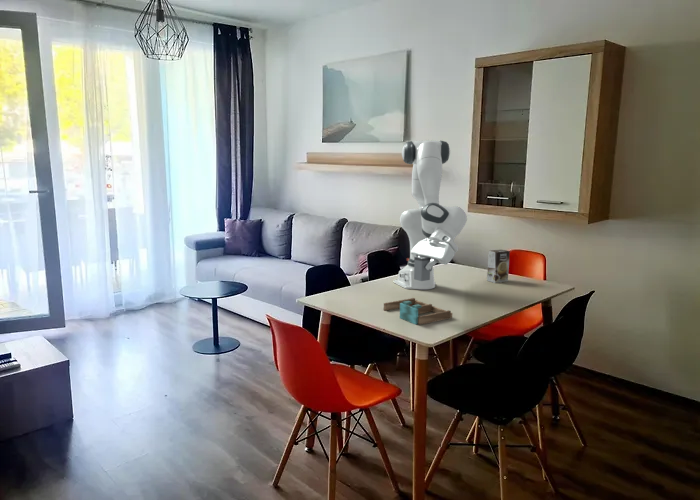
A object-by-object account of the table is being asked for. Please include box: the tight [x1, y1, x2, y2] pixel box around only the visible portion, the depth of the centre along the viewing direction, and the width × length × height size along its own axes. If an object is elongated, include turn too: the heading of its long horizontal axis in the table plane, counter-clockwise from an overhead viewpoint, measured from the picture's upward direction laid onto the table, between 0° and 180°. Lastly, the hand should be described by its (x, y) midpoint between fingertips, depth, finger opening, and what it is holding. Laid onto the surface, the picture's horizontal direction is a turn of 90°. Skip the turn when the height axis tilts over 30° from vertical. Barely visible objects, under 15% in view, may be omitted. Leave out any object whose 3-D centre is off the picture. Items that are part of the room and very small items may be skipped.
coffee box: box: [486, 249, 511, 284], centre depth 269 cm, size 9×6×16 cm
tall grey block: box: [414, 256, 430, 281], centre depth 206 cm, size 4×4×9 cm
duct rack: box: [383, 297, 453, 326], centre depth 211 cm, size 23×18×7 cm
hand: (421, 267), depth 205 cm, fingers closed on tall grey block, 4 cm apart
